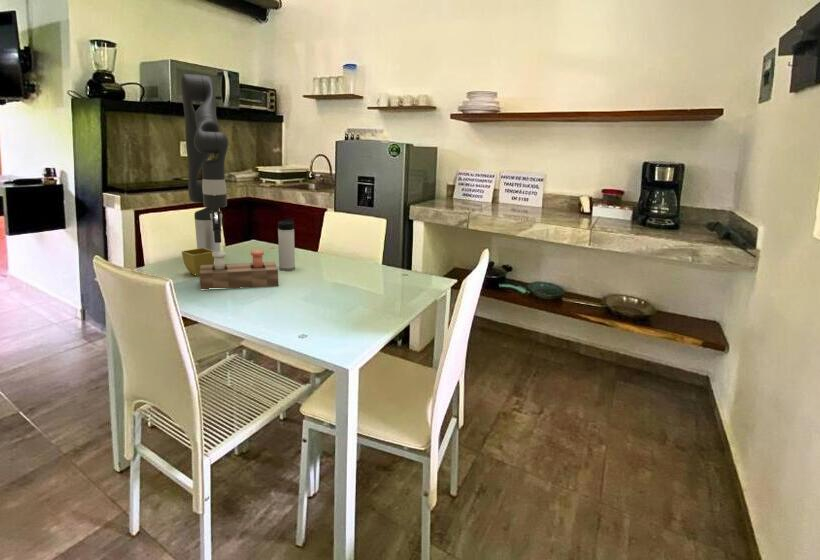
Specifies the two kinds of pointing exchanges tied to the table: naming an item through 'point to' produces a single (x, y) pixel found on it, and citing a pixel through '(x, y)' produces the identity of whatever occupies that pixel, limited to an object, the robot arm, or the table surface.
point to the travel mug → (286, 245)
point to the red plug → (257, 258)
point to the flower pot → (197, 259)
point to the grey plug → (219, 260)
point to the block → (238, 276)
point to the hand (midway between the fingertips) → (218, 242)
